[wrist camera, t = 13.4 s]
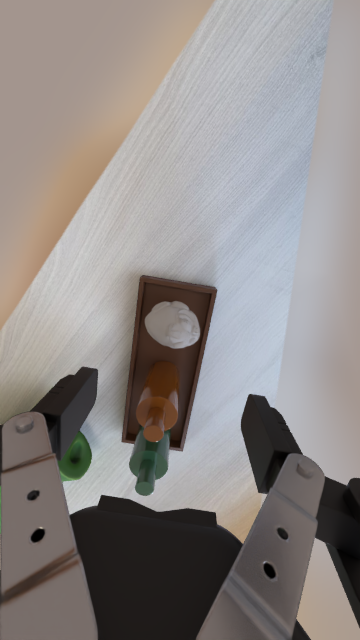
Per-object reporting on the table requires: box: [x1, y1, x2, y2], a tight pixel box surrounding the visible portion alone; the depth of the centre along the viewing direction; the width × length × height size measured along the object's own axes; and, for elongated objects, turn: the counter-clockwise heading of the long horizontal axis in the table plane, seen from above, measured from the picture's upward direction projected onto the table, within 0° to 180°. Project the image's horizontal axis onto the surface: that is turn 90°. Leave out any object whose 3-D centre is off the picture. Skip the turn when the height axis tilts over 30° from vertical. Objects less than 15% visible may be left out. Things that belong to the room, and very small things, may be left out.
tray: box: [122, 275, 217, 451], centre depth 36 cm, size 27×10×2 cm, turn 171°
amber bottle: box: [136, 361, 180, 442], centre depth 31 cm, size 5×5×12 cm
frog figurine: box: [145, 301, 200, 349], centre depth 30 cm, size 6×7×7 cm
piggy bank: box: [0, 424, 92, 534], centre depth 34 cm, size 14×18×15 cm
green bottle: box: [129, 424, 171, 496], centre depth 33 cm, size 5×5×12 cm
